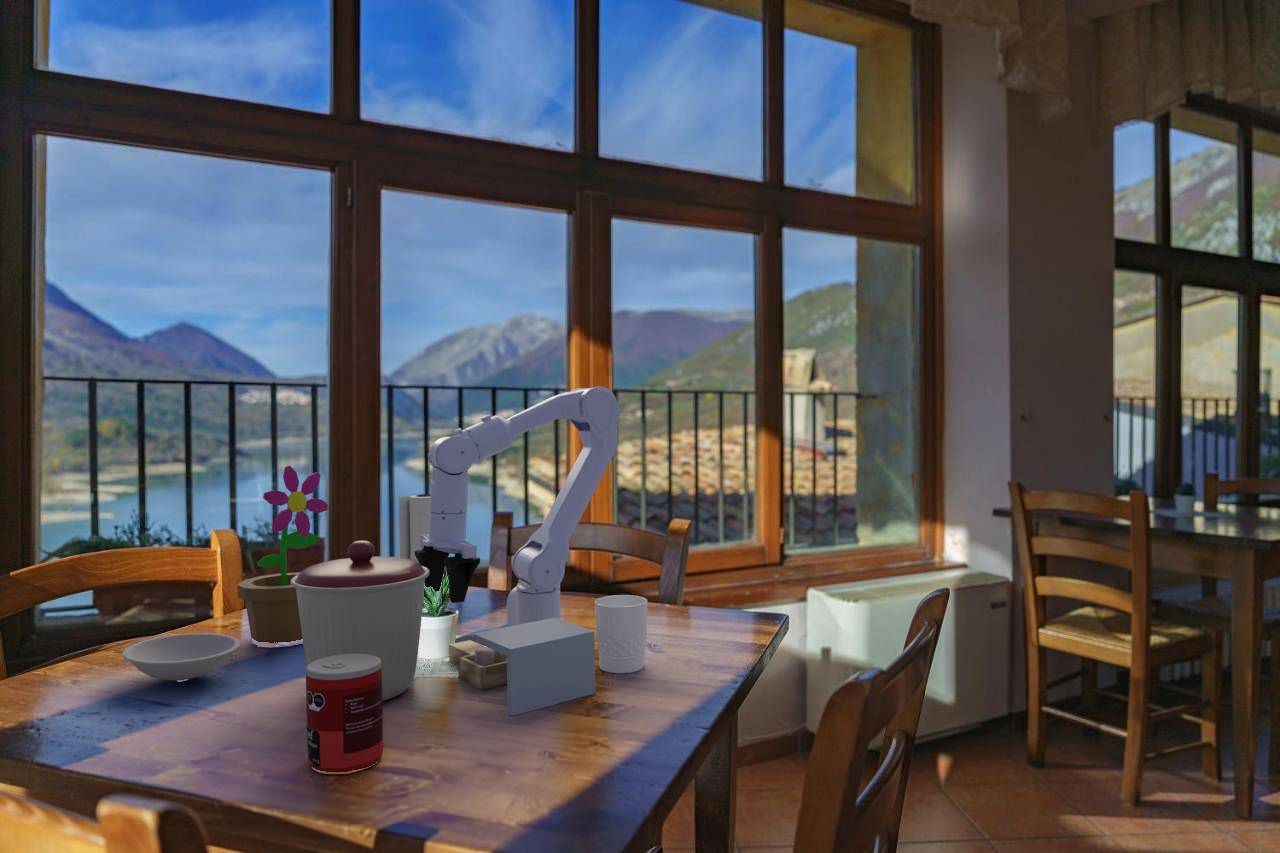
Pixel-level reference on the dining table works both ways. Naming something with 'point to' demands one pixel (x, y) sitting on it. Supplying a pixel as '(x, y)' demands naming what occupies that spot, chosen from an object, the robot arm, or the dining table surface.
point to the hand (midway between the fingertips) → (445, 597)
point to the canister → (364, 611)
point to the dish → (181, 654)
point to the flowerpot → (274, 594)
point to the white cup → (621, 632)
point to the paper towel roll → (413, 523)
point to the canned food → (344, 712)
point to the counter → (544, 662)
